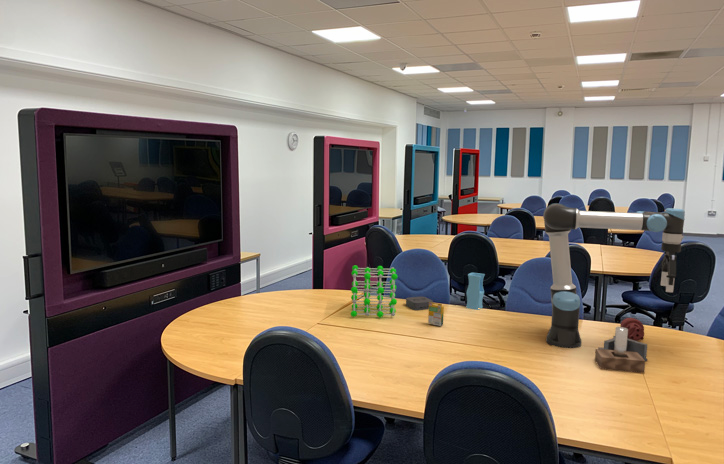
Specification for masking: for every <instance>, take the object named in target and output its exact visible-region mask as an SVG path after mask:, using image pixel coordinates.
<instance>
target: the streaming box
mask: <svg viewBox="0 0 724 464" xmlns="http://www.w3.org/2000/svg"><path fill="white" fill-rule="evenodd" d="M429 302H433V303H434V300H433V299H430V298H428V297H426V296H411V297H406V298H405V307H407V308H409V309H411V310H412V311H423V310H425V311H426V310H429ZM432 305H434V304H432Z"/></svg>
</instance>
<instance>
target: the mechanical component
mask: <svg viewBox="0 0 724 464" xmlns="http://www.w3.org/2000/svg"><path fill="white" fill-rule="evenodd" d="M619 327H624V328H627V329H628V335H627V338H628V339H631V340H634V341H638V342H639V341H643V340H644V338H645V337H644V336H645V325H644V324H643V323H642V322H641V321H640V320H639V319H636V318H633V317H626V318H624V319H623V320H622V321H621V322H620V324H619Z"/></svg>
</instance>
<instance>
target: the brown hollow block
mask: <svg viewBox="0 0 724 464" xmlns="http://www.w3.org/2000/svg"><path fill="white" fill-rule="evenodd" d="M594 351H595V354H594V361H595V362H596V364H597V365H598V367H599V369H600V370H606V371H607V370H608V371H616V372H617V371H619V372H629V373H637V374H638V373H639V374H645V369H646V361H645V360H644V359H643V358H642V357H641V356H640V355H639V354H638V353H637V352H629V351H626V357H615V356H614V350H605V349H598V348H595V350H594Z"/></svg>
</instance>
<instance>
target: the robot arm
mask: <svg viewBox="0 0 724 464" xmlns="http://www.w3.org/2000/svg"><path fill="white" fill-rule="evenodd" d="M685 213H686V212H685V210H684V209H683V208H674V207H673V208H672V207H668V208H665V210H664V212H659V211H644V210H643V211H638V210H637V211H635V212H623V211H622V212H620V211H619V212H617V211H596V210H595V211H594V210H593V211H592V210H579V209H578V208H576V207H568V206H566V205H565V204H563V203H556V202H555V203H551V204H549V205H548V206H546V207H545V209H544V211H543V221H544V222H543V224H544V231H545V234H546V235H548V240H549V251H550V252H549V253H550V262H551V270H552V271H551V273H552V285H551V286H550V302H551V323H550V324H551V325H550V328H549V330H548V332H547V335H546V339H545V342H546V343H547V344H548V345H550V346H554V347H557V348H561V349H562V348H563V349H578V348H580V347H581V346H582V337H581V335H580V331H579V325H580V323H579V320H580V307H581V298H580V295H578V294H577V286H576V285H575V284H574V283H573V278H572V277H573V276H572V267H571V264H572V263H571V255H570V254H571V253H570V245H569V244H570V243H569V233H571V230H577V229H578V228H585V229H586V228H587V229H603V230H604V229H605V230H606V229H608V230H625V231H627V230H628V231H630V230H631V231H643V232H644V231H645V232H652V233H660V232H662V238H661V241H662V242H661V249H660V250H661V251H662V252H664V253H663V258H662V259H663V260H662V262H661V263H662V264H661V268H660V269H661V278H660V286H663V287H665V292H666V293H674V289H675V288H674V287H675V278H676V277H677V255H676V253H681V250H682V241H683V239H684V235H683V233H684V232H683V231H684V226H685V225H684V224H685V215H686V214H685Z"/></svg>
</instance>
